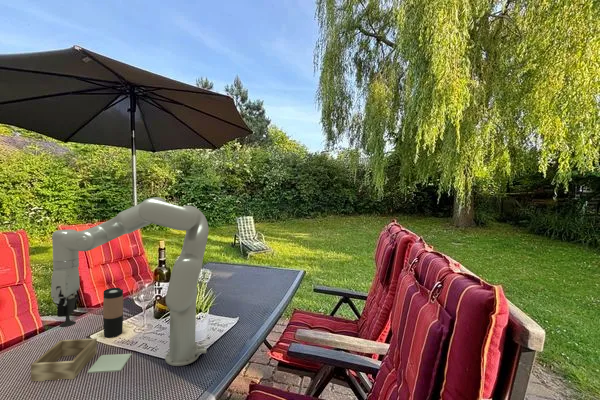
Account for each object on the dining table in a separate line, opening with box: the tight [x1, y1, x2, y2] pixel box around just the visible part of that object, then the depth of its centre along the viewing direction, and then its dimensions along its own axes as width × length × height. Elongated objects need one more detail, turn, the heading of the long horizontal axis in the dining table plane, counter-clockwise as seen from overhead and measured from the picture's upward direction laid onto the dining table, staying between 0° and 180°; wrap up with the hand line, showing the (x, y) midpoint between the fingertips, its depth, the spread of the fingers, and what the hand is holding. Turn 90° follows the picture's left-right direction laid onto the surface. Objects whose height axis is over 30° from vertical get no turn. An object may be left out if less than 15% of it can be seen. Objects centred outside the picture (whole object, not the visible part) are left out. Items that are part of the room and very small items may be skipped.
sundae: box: [58, 293, 79, 328], centre depth 115 cm, size 7×7×15 cm
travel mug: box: [102, 287, 124, 339], centre depth 141 cm, size 8×8×20 cm
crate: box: [30, 337, 98, 382], centre depth 116 cm, size 13×17×6 cm
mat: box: [87, 353, 133, 374], centre depth 119 cm, size 11×11×1 cm
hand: (67, 312), depth 116 cm, fingers closed on sundae, 5 cm apart
